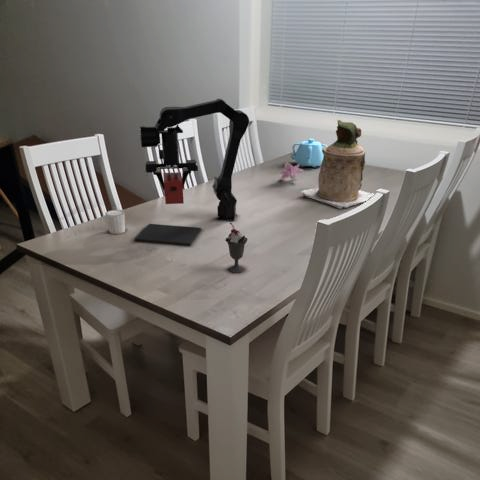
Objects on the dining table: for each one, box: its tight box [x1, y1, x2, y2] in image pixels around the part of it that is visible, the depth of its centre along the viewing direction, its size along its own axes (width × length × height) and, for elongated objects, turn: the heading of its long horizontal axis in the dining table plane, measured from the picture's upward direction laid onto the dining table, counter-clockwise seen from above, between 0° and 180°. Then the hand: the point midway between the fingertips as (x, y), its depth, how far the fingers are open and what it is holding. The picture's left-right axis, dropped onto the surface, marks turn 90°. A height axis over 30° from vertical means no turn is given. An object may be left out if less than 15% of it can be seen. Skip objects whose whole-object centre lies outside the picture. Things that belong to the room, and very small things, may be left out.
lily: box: [277, 162, 305, 185], centre depth 229 cm, size 12×12×10 cm
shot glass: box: [105, 209, 126, 235], centre depth 174 cm, size 7×7×7 cm
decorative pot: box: [290, 138, 328, 168], centre depth 255 cm, size 16×16×14 cm
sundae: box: [225, 222, 248, 274], centre depth 145 cm, size 7×7×15 cm
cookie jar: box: [300, 119, 375, 210], centre depth 203 cm, size 25×25×32 cm
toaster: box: [162, 171, 185, 205], centre depth 175 cm, size 13×6×8 cm, turn 9°
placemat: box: [134, 223, 202, 247], centre depth 172 cm, size 20×15×1 cm
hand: (173, 189), depth 178 cm, fingers closed on toaster, 6 cm apart
